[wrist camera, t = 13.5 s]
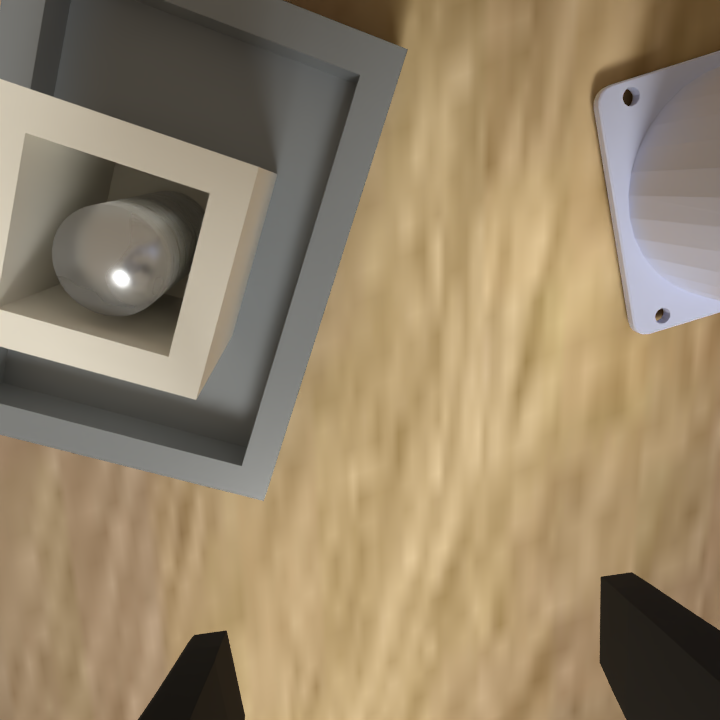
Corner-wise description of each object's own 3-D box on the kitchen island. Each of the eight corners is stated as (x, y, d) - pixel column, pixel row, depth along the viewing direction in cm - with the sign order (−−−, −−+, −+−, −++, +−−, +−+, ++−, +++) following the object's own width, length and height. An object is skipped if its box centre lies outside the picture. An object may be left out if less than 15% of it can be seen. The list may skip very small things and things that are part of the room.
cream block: (101, 113, 17) (-12, 74, 11) (277, 174, 17) (259, 167, 12) (66, 286, 18) (-51, 332, 12) (232, 335, 19) (196, 399, 13)
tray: (50, -72, 16) (17, -104, 14) (398, 63, 17) (407, 49, 15) (-29, 398, 19) (-63, 419, 17) (268, 474, 21) (263, 500, 19)
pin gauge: (201, 184, 17) (149, 195, 12) (220, 266, 18) (179, 306, 13) (119, 197, 17) (35, 214, 12) (142, 279, 18) (72, 324, 13)
